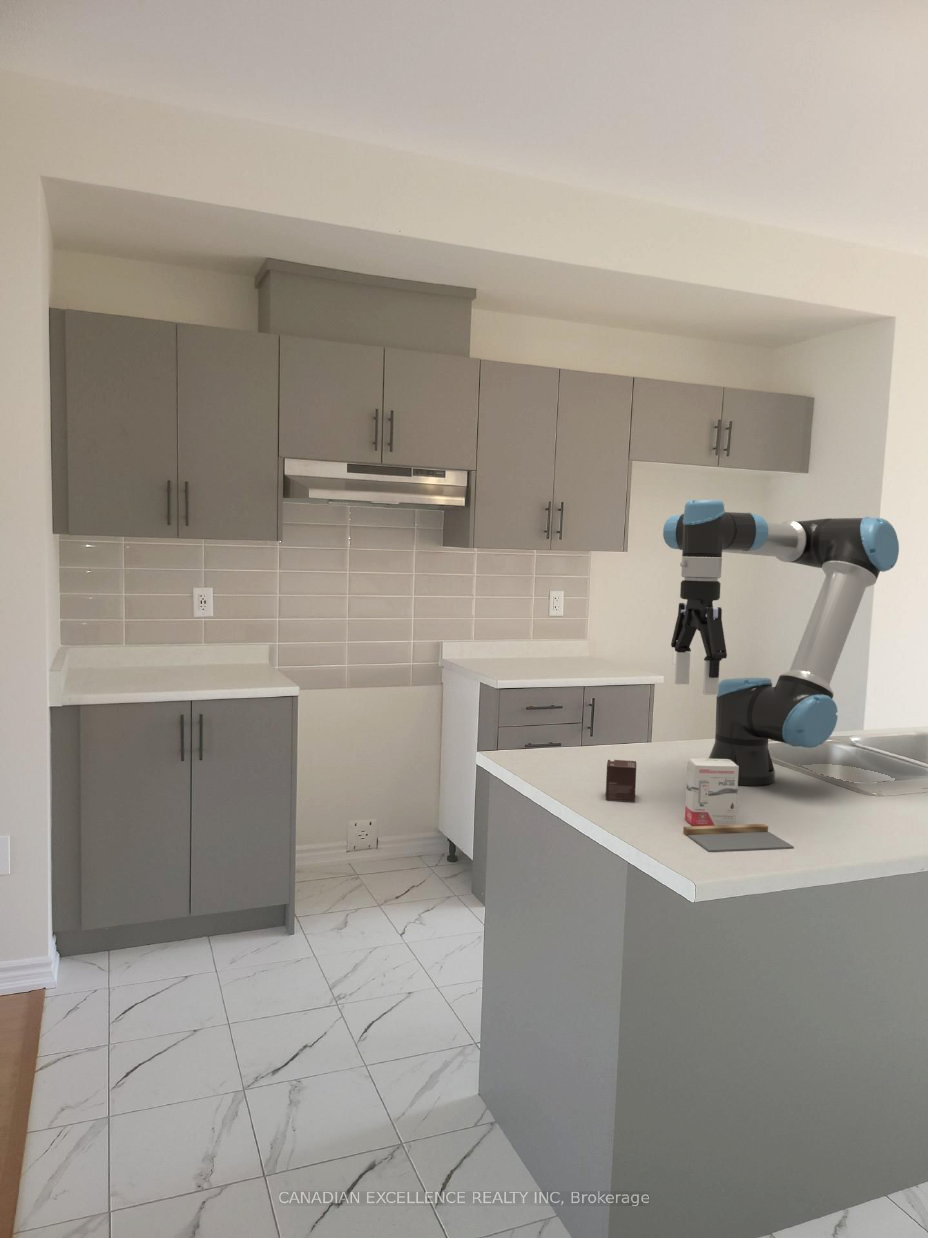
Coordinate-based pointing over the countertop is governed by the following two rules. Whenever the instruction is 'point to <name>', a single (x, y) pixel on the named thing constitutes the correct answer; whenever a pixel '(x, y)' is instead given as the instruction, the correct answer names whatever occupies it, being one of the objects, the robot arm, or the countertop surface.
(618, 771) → the box
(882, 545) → the robot arm
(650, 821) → the countertop surface
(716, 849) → the mat
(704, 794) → the ink box
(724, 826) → the batten
